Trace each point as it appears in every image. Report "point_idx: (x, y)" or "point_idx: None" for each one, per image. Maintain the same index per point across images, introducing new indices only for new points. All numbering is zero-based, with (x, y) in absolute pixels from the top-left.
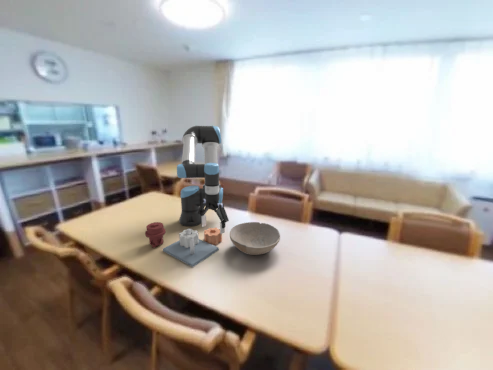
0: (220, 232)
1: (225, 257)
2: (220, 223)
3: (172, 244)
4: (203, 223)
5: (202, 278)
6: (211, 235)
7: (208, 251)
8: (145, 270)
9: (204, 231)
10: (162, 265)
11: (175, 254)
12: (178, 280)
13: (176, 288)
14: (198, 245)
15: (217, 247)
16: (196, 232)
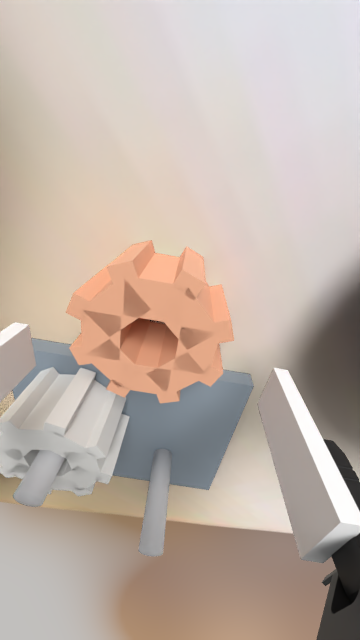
0: (264, 415)
1: (310, 407)
2: (302, 539)
3: None
4: (6, 383)
5: (269, 497)
6: (177, 393)
7: (218, 425)
8: (95, 509)
9: (83, 362)
10: (114, 491)
11: None
12: (206, 512)
13: (221, 526)
14: (138, 406)
15: (246, 388)
16: (75, 442)
